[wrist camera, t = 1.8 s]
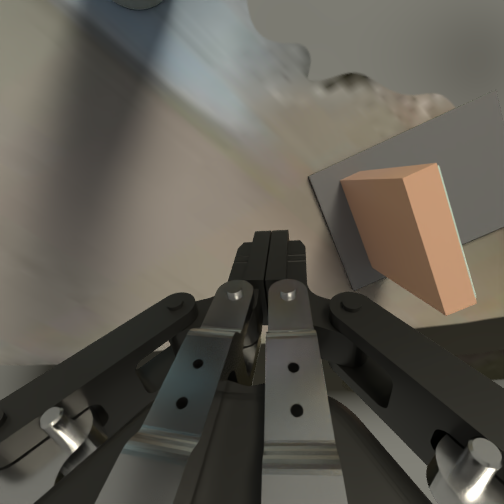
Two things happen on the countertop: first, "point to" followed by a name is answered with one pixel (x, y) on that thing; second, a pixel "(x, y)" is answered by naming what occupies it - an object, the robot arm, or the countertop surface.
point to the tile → (412, 233)
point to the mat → (425, 152)
